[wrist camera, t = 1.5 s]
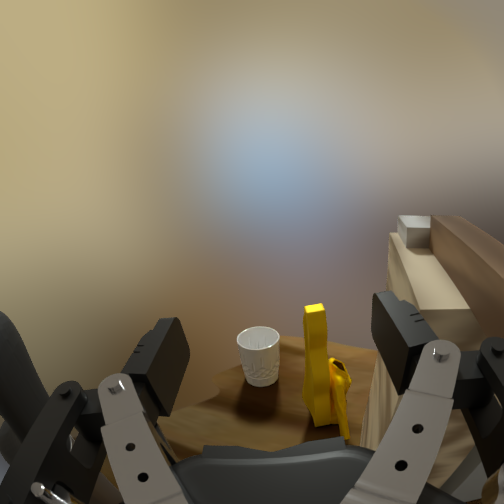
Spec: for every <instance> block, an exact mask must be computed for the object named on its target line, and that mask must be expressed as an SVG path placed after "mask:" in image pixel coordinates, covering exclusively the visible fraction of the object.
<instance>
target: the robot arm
mask: <svg viewBox="0 0 504 504" xmlns="http://www.w3.org/2000/svg"><path fill="white" fill-rule="evenodd" d="M372 300H373V301H372V321H371V331H372V336H373V340H374V342H375V344H376V346H377V348H378V351H379V353H380V355H381V357H382V359H383V362H384V364H385V366H386V369H387V371H388V373H389V375H390V378H391V380H392V383H393V385H394V387H395V390H396V392H397V395H398V396H399V395H403V394H404V395H403V398H402V400H401V402H400V404H399V406H398V409H397V411H396V413H395V415H394V417H393V419H392V421H391V423H390V425H389V427H388V429H387V431H386V433H385V435H384V437H383V439H382V441H381V442H380V444H379V446H378V448H377V450H376V451H374V450H371V449H369V448H365V447H361V446H354V445H345V441H344V436H341V437H335V438H329V439H322V440H315V441H308V442H305V443H302V444H299V445H296V446H293V447H289V448H286V449H282V450H279V451H275V452H267V451H261V450H255V449H250V448H244V447H239V446H209V445H204V448H203V452H202V454H201V455H196V456H192V457H189V458H186V459H184V460H182V461H179V460H178V459H177V457H176V456H175V454H174V452H173V450H172V449H171V447H170V445H169V443H168V441H167V439H166V438H165V436H164V434H163V432H162V430H161V428H160V426H159V424H158V423H157V419H158V416H167V417H170V414H171V411H172V408H173V405H174V402H175V399H176V396H177V393H178V391H179V387H180V385H181V382H182V379H183V376H184V373H185V371H186V368H187V365H188V362H189V358H190V349H189V345H188V343H187V340H186V337H185V334H184V331H183V329H182V326H181V323H180V320H179V319H178V318H177V317H174V318H161V319H159V320H158V322H157V324H156V326H155V327H154V329H153V330H150V331H149V332H148V333H147V334H145V335H144V336H143V337H142V338H141V340H140V341H139V343H138V345H137V347H136V348H135V350H134V353H132V355H131V356H130V358H129V359H128V361H127V363H126V365H125V366H124V368H123V370H122V371H121V373H118V374H113V375H111V376H108V377H107V378H105V379H104V380H103V381H102V382H101V383H100V385H99V387H98V389H91V390H83V389H82V387H81V386H80V384H79V383H78V382H76V381H67V382H65V383H62V384H61V385H59V386H58V387H57V388H56V389H55V390H54V392H53V394H52V395H51V396H50V397H49V395H48V394H47V392H46V390H45V388H44V386H43V384H42V382H41V380H40V378H39V376H38V374H37V372H36V370H35V368H34V366H33V363H32V361H31V359H30V356H29V354H28V352H27V349H26V347H25V345H24V342H23V340H22V338H21V336H20V334H19V333H18V331H17V329H16V327H15V326H14V324H13V323H12V322H11V320H10V319H9V318H8V317H7V316H6V315H5V314H4V313H2V312H1V311H0V415H1V416H2V417H3V418H4V420H5V421H4V422H3V424H2V426H1V428H0V452H1V454H2V456H3V457H4V459H5V460H6V461H7V462H8V464H10V467H9V469H8V471H7V473H6V475H5V476H4V479H3V481H2V483H1V485H0V504H467V503H465V502H463V501H461V500H459V499H457V498H455V497H453V496H451V495H450V494H448V493H446V492H444V491H442V490H440V489H439V488H437V487H435V486H433V485H431V484H430V483H428V482H426V481H427V479H428V476H429V474H430V472H431V469H432V467H433V464H434V462H435V459H436V457H437V454H438V451H439V448H440V446H441V443H442V440H443V437H444V434H445V431H446V427H447V424H448V421H449V417H450V414H451V410H455V409H460V410H461V412H462V414H463V416H464V419H465V421H466V423H467V425H468V428H469V430H470V433H471V435H472V438H473V440H474V443H475V445H476V448H477V450H478V453H479V456H480V458H481V461H482V464H483V467H484V470H485V473H486V476H487V480H486V482H485V484H484V485H483V488H482V493H481V496H482V498H481V504H504V339H503V338H500V337H489V338H486V339H485V340H484V341H483V342H482V343H481V346H480V349H479V350H474V351H460V350H459V348H458V347H457V346H456V345H455V344H454V343H452V342H450V341H447V340H440V339H439V338H438V337H437V335H436V334H435V333H434V331H433V330H432V328H431V327H430V326H429V324H428V323H427V322H426V320H424V318H423V316H422V315H421V314H420V313H419V311H418V310H417V309H416V307H415V306H414V305H413V304H411V303H409V302H407V301H406V300H401V301H399V299H398V298H397V297H396V295H395V294H394V293H393V291H391V290H390V291H384V292H379V293H374V294H373V299H372ZM494 394H495V395H496V396H497V398H498V400H499V402H500V404H501V406H502V408H501V406H500V404H499V403H498V401H497V399H496V397H495V395H494ZM73 427H75V428H76V429H77V431H78V432H79V434H78V436H77V438H76V440H75V441H74V440H73V438H72V437H71V436H70V433H71V431H72V429H73ZM106 454H108V458H109V461H110V464H111V467H112V470H113V473H114V476H115V479H116V482H117V484H118V487H119V490H120V492H121V493H120V492H119V491H118V490H117V489H116V488H115V487H114V485H113V484H112V483H111V482H110V481H109V480H108V479H107V478H106V477H105V476H104V475H103V474H102V473H101V472H100V470H101V467H102V465H103V462H104V459H105V457H106Z"/></svg>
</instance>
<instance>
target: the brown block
mask: <svg viewBox="0 0 504 504" xmlns="http://www.w3.org/2000/svg"><path fill="white" fill-rule="evenodd" d="M398 234H399V236H400V238H401V240H402V242H403V243H404V245H405V247H406V248H429V249H430V251H431V252H432V253H433V255H434V256H435V257H436V259H437V260H438V262H439V263H440V264H441V266H442V267H443V269H444V270H445V271H446V273H447V274H448V276H449V277H450V279H451V280H452V281H453V283H454V284H455V286H456V287H457V289H458V290H459V292H460V294H461V295H462V297H463V298H464V300H465V301H466V303H467V305H468V306H469V308H470V309H471V311H472V313H473V314H474V316H475V318H476V319H477V321H478V323H479V325H480V326H481V328H482V330H483V332H484V333H485V335H486V337H487V338H489V337H500V338H503V339H504V245H503V244H501V243H500V242H499V241H497V240H496V239H494V238H493V237H491V236H490V235H488V234H487V233H485V232H484V231H482V230H481V229H479V228H478V227H476V226H475V225H473V224H471V223H470V222H468V221H467V220H465V219H463V218H461V217H460V216H436V215H431V216H398Z"/></svg>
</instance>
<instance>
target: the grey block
mask: <svg viewBox="0 0 504 504" xmlns="http://www.w3.org/2000/svg"><path fill="white" fill-rule="evenodd" d="M500 406H501V405H500ZM501 408H502V406H501ZM486 480H487V476H486V473H485V470H484V467H483V464H482V461H481V458H480V456H479V453H478V450H477V448H476V445H474V447H473V448H472V450H471V451H470V452H469V454H468V455H467V456H466V458H465V459H464V460H463V461H462V463H461V464H460V465H459V466H458V468H457V469H456V470H455V471H454V472H453V474H452V475H451V476H450V477H449V478H448V479H447V480H446V482H445V483H444V484H443V485H442V486H441V487H440V488H439V489H440V490H442V491H444V492H446V493H448V494H450V495H451V496H453V497H455V498H457V499H459V500H461V501H463V502H468V501H472V500H476V499H480V498H482V496H481V493H482V488H483V485H484V484H485V482H486Z"/></svg>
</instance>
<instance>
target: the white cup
mask: <svg viewBox="0 0 504 504" xmlns="http://www.w3.org/2000/svg"><path fill="white" fill-rule="evenodd" d="M237 343H238V348H239V353H240V358H241V362H242V366H243V370H244V373H245V378H246V380H247V382H248V383H249V384H251V385H253V386H257V387H264V386H269V385H271V384H273V383H275V381H276V380H277V379H278V368H279V334H278V332H277V331H276V330H274V329H272V328H269V327H253V328H249V329H246V330H244V331H242V332H241V333H240V334H239V335H238V337H237Z"/></svg>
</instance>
